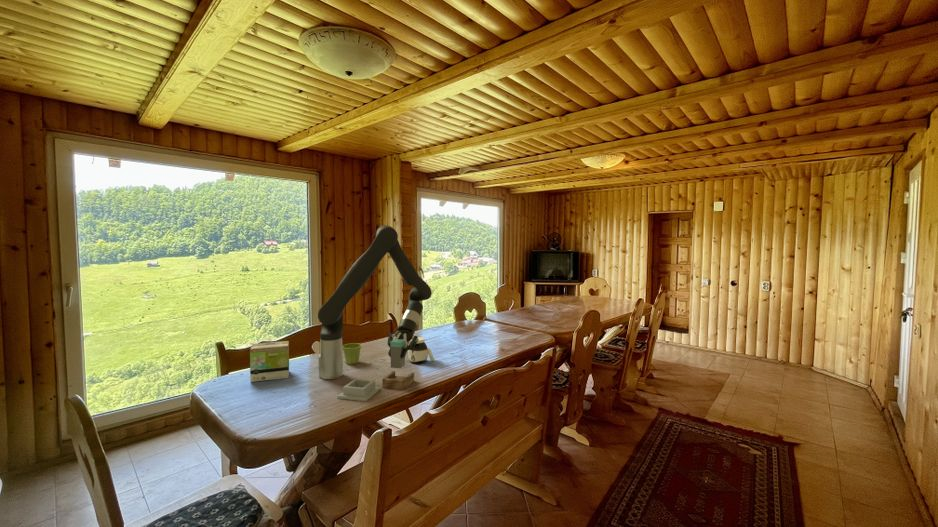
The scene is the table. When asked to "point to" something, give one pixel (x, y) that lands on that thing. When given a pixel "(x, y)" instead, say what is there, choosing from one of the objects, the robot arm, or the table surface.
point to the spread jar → (420, 352)
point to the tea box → (269, 361)
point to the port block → (359, 390)
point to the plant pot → (352, 352)
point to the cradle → (397, 381)
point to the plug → (397, 353)
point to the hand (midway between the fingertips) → (395, 356)
